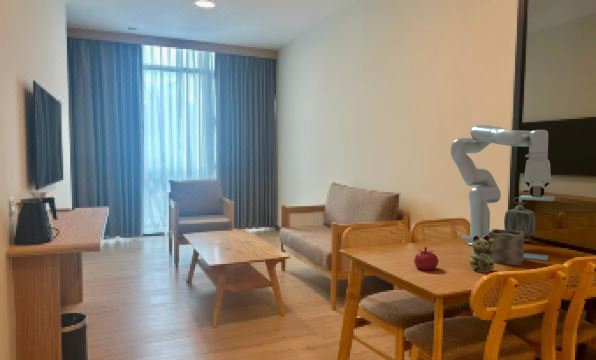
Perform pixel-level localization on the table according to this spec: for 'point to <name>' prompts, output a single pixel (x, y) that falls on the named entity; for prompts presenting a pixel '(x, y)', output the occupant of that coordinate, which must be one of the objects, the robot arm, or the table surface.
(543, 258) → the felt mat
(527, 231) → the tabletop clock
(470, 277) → the table surface
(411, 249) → the table surface
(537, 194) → the lid
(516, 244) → the walnut box
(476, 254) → the decorative figurine
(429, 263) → the pomegranate
